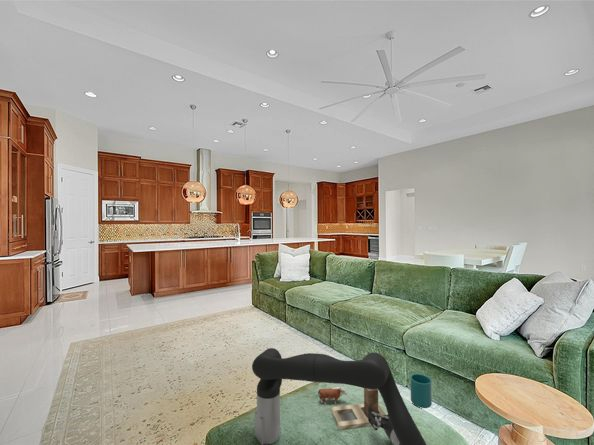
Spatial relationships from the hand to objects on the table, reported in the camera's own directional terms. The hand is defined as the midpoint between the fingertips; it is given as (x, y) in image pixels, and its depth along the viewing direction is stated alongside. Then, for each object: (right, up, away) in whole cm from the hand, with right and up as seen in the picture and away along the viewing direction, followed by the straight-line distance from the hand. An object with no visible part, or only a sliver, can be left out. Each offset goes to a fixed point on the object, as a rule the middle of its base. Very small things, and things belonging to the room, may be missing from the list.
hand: (379, 407), depth 114 cm
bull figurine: (-17, -10, +16) cm, 25 cm away
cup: (+25, -9, +19) cm, 32 cm away
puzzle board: (-7, -9, +6) cm, 13 cm away
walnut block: (-1, -8, +7) cm, 11 cm away
